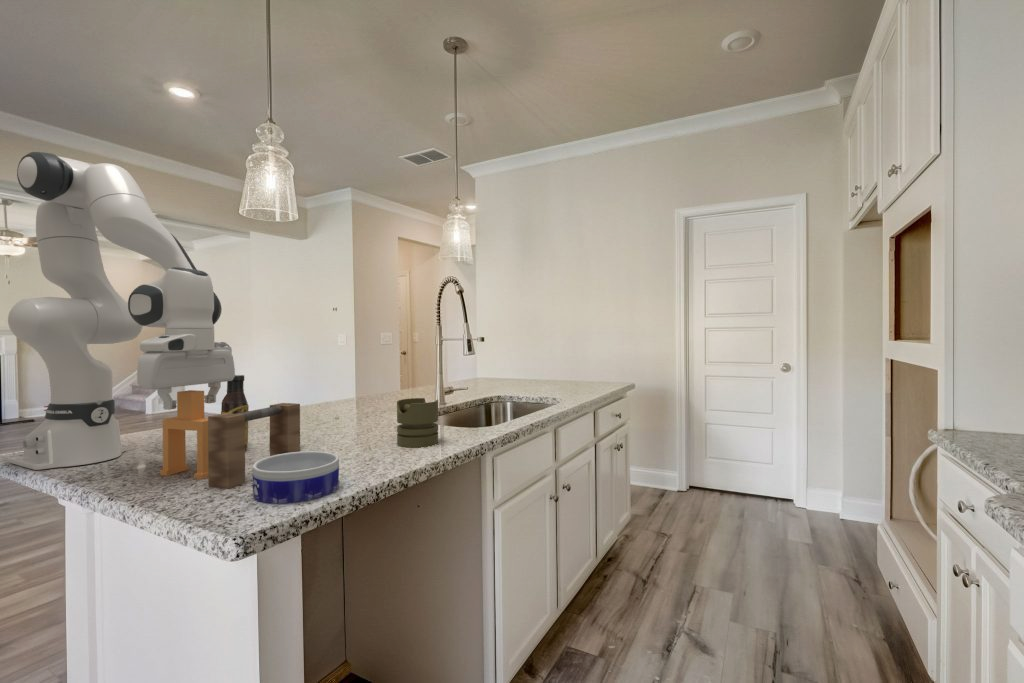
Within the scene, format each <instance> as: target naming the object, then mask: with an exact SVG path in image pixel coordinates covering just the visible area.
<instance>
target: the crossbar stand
mask: <svg viewBox="0 0 1024 683" xmlns="http://www.w3.org/2000/svg"><path fill="white" fill-rule="evenodd" d="M207 418H208V477H207V479H208V482H207V483H208V488H216V489H226V490H229V489H232V488H234V487H238V486H240V485H243V484H245V483H246V450H245V422H246V421H248V422H249V421H254V420H258V419H264V418H269V443H270V446H269V457H270V456H274V455H278V454H284V453H291V452H301V404H300V403H294V402H293V403H292V402H291V403H289V402H280V403H275V404H269V407H264V408H260V409H255V410H248V411H247V412H242V413H237V414H227V413H225V414H221V413H220V414H215V415H210V416H207Z"/></svg>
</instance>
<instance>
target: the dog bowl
mask: <svg viewBox="0 0 1024 683" xmlns="http://www.w3.org/2000/svg"><path fill="white" fill-rule="evenodd" d="M251 471H252V494H253V496H252V497H253V498H254V500H255V501H257V502H260V503H263V504H270V505H272V504H273V505H274V504H275V505H285V504H296V503H304V502H309V501H312V500H317V499H321V498H323V497H326V496H328V495H330V494H332V493H334V492H336V490H338V489H339V488H338V487H339V476H340V458H339V455H337V454H336V453H333V452H328V451H320V450H319V451H318V450H317V451H315V450H307V451H306V450H305V451H301V450H300V452H291V453H284V454H278V455H274V456H270V455H269V456H267V457H264V458H261V459H259V460H257V461H255V462H254V463H253V464H252V468H251Z"/></svg>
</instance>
